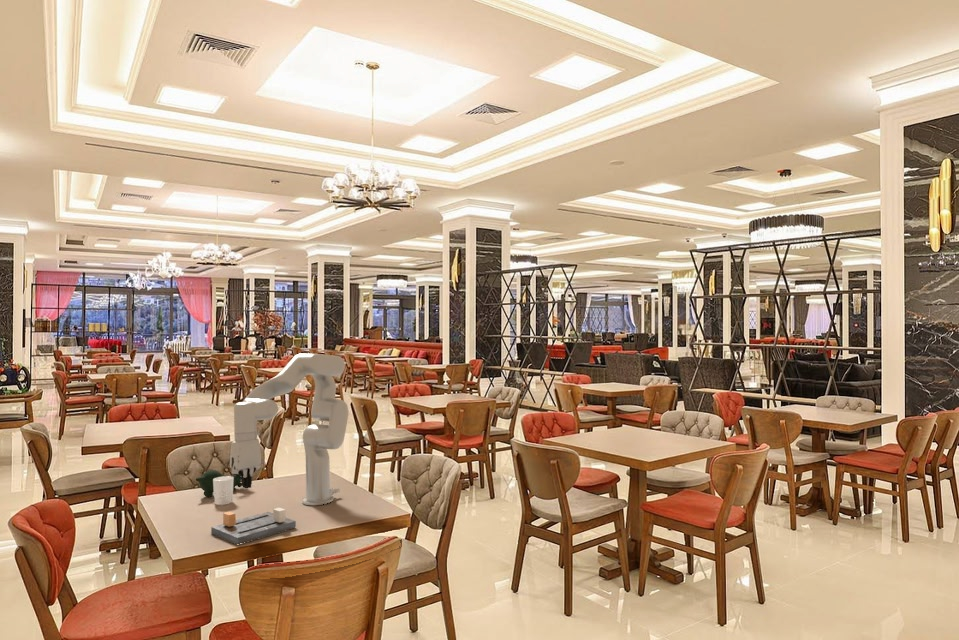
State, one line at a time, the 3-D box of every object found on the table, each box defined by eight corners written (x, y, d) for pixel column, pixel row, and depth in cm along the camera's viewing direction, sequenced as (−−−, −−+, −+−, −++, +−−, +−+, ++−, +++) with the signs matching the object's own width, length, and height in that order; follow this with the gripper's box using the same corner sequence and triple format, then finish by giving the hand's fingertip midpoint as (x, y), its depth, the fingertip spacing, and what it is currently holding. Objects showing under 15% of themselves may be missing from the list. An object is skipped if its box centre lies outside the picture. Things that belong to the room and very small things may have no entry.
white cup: (237, 500, 259) (237, 476, 259) (227, 505, 251) (227, 480, 251) (219, 499, 260) (219, 476, 260) (209, 505, 252) (209, 480, 252)
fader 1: (229, 525, 220) (229, 511, 220) (235, 528, 217) (235, 513, 217) (223, 527, 218) (223, 513, 218) (229, 529, 216) (228, 515, 216)
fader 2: (279, 521, 224) (279, 507, 224) (285, 523, 221) (285, 509, 221) (273, 523, 222) (273, 509, 222) (279, 525, 219) (279, 511, 219)
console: (268, 518, 234) (268, 511, 234) (295, 528, 222) (295, 520, 222) (211, 534, 217) (211, 526, 217) (237, 545, 205) (237, 537, 205)
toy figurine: (236, 489, 283) (187, 498, 261) (238, 447, 284) (190, 452, 263) (250, 491, 278) (201, 501, 257) (253, 449, 280) (204, 454, 258)
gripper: (259, 432, 231) (260, 481, 231) (220, 438, 220) (221, 490, 220) (270, 434, 226) (271, 484, 226) (231, 441, 215) (232, 494, 215)
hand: (246, 487), depth 223 cm, fingers closed
